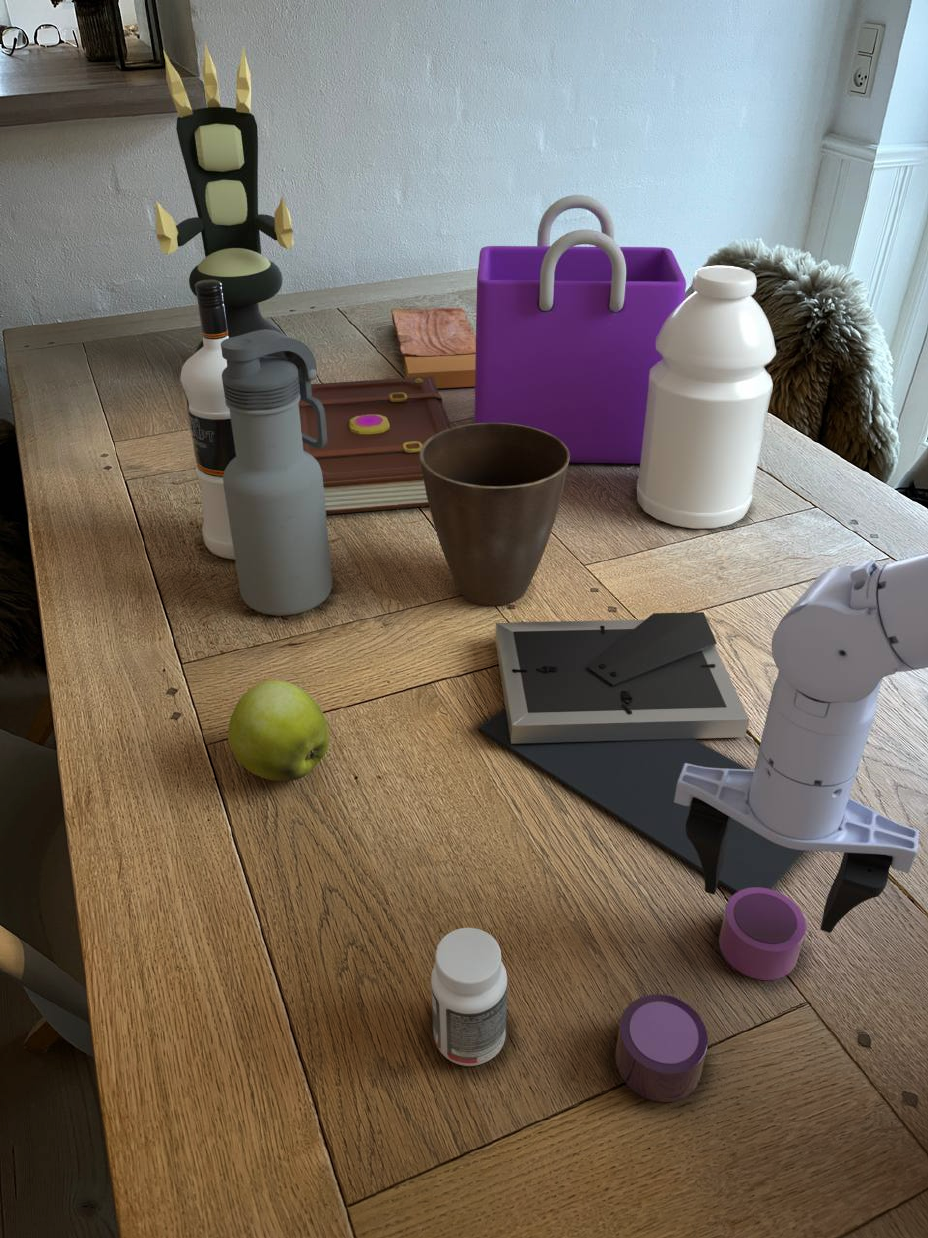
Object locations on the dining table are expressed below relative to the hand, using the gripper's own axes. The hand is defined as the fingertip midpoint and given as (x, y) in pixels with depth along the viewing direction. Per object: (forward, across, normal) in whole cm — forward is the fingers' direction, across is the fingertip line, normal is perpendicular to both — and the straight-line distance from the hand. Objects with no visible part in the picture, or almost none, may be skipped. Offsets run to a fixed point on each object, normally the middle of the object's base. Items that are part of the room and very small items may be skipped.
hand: (769, 901), depth 68 cm
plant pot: (+5, +35, -35) cm, 50 cm away
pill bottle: (+5, +16, +14) cm, 22 cm away
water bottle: (+5, +55, -25) cm, 60 cm away
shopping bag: (+5, +40, -74) cm, 84 cm away
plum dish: (+5, 0, 0) cm, 5 cm away
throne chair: (+6, +97, -79) cm, 125 cm away
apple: (+5, +41, -2) cm, 41 cm away
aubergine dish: (+5, +4, +11) cm, 13 cm away
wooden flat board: (+6, +70, -96) cm, 119 cm away
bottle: (+5, +20, -62) cm, 66 cm away
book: (+5, +63, -58) cm, 86 cm away
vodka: (+5, +65, -32) cm, 73 cm away
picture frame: (+5, +18, -24) cm, 30 cm away
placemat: (+5, +12, -14) cm, 19 cm away
